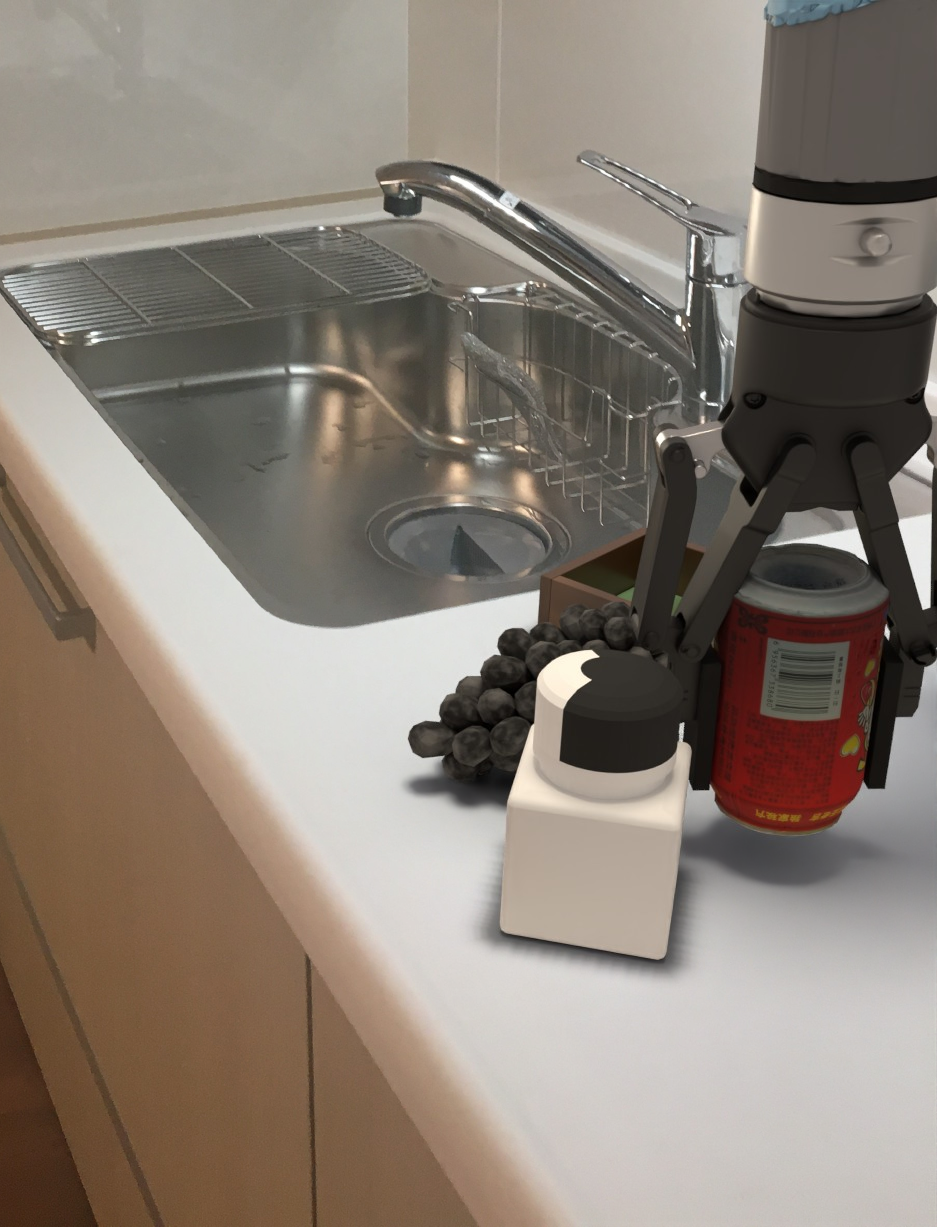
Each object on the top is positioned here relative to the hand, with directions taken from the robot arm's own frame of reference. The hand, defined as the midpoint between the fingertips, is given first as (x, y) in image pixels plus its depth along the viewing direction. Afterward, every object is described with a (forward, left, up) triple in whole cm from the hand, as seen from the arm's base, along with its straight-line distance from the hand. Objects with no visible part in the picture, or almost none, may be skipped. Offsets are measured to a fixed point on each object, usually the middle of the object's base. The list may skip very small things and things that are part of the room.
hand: (780, 773), depth 78 cm
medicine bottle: (+3, +10, -4) cm, 11 cm away
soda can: (0, 0, -2) cm, 2 cm away
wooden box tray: (+16, -15, -4) cm, 22 cm away
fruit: (+12, +2, -4) cm, 13 cm away
